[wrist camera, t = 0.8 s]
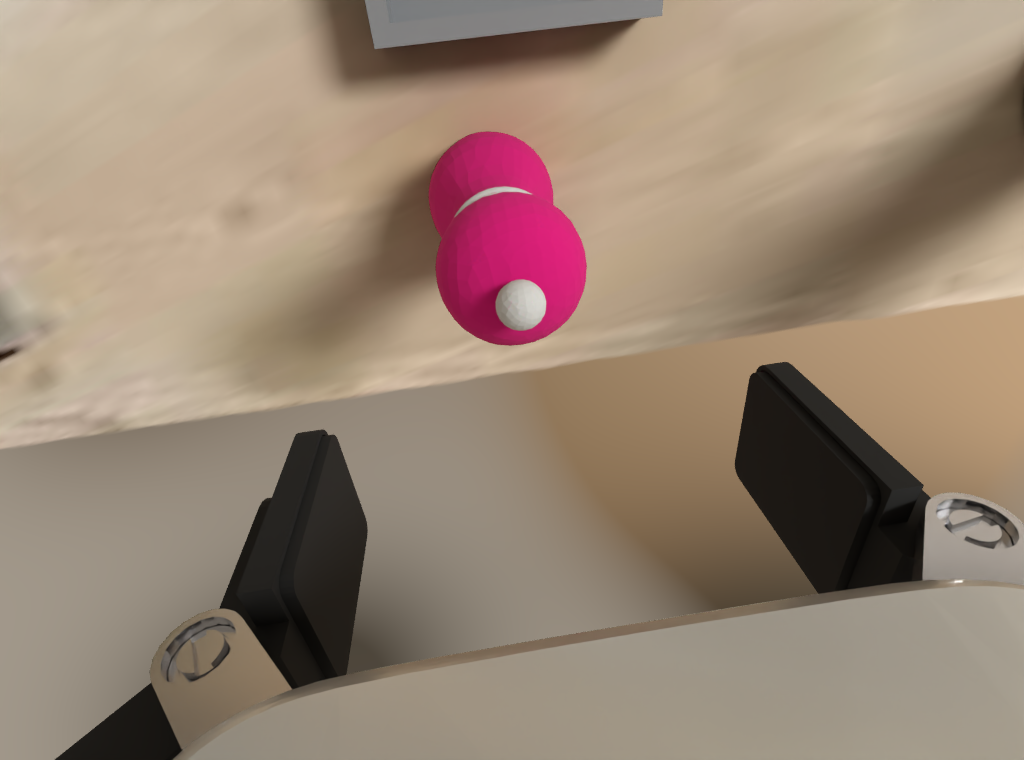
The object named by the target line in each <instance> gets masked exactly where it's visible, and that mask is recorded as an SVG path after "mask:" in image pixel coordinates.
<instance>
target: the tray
mask: <svg viewBox="0 0 1024 760" xmlns="http://www.w3.org/2000/svg"><path fill="white" fill-rule="evenodd" d="M365 4H366V9H367V14H368V19H369V24H370V29H371V33H372V38H373V43H374V48H375V49H382V48H391V47H400V46H408V45H417V44H426V43H434V42H443V41H451V40H460V39H469V38H477V37H486V36H494V35H503V34H512V33H520V32H529V31H537V30H546V29H555V28H563V27H572V26H580V25H589V24H598V23H606V22H615V21H624V20H632V19H641V18H648V17H656V16H662V9H663V0H365Z"/></svg>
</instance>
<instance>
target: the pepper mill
mask: <svg viewBox="0 0 1024 760" xmlns="http://www.w3.org/2000/svg"><path fill="white" fill-rule="evenodd" d="M429 205H430V211H431V215H432V218H433V221H434V224H435V227H436V229H437V231H438V233H439V234H440V236H441V238H442V240H441V242H440V245H439V249H438V253H437V258H436V277H437V284H438V288H439V291H440V295H441V297H442V300H443V302H444V304H445V306H446V308H447V309H448V311H449V312H450V314H451V315H452V317H453V318H454V319H455V320H456V321H457V322H458V324H459V325H460V326H461V327H462V328H463V329H465V330H466V331H468V332H469V333H471V334H472V335H474V336H476V337H477V338H480V339H482V340H484V341H487V342H489V343H493V344H497V345H509V346H511V345H521V344H526V343H531V342H535V341H537V340H539V339H542V338H544V337H546V336H548V335H549V334H551V333H552V332H554V331H555V330H557V329H558V328H559V327H561V326H562V325H563V324H564V323H565V322H566V321H567V320H568V319H569V318H570V316H571V315H572V314H573V312H574V311H575V309H576V307H577V305H578V303H579V301H580V298H581V296H582V293H583V290H584V286H585V282H586V267H587V265H586V257H585V251H584V248H583V244H582V241H581V239H580V237H579V235H578V233H577V231H576V229H575V228H574V226H573V224H572V222H571V221H570V220H569V219H568V218H567V217H566V215H565V214H564V213H563V212H562V211H561V210H559V209H558V208H556V207H555V206H554V205H553V189H552V185H551V180H550V177H549V174H548V172H547V169H546V167H545V165H544V163H543V162H542V160H541V159H540V157H539V156H538V155H537V153H536V152H535V151H534V150H533V149H532V148H531V147H529V146H528V145H527V144H526V143H525V142H523V141H521V140H519V139H518V138H516V137H513V136H510V135H508V134H503V133H499V132H478V133H474V134H471V135H468V136H466V137H464V138H462V139H461V140H459V141H458V142H456V143H455V144H454V145H453V146H451V147H450V148H449V149H448V150H447V151H446V152H445V153H444V154H443V156H442V157H441V158H440V160H439V162H438V163H437V165H436V167H435V169H434V172H433V174H432V176H431V181H430V186H429Z"/></svg>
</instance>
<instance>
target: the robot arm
mask: <svg viewBox="0 0 1024 760" xmlns="http://www.w3.org/2000/svg"><path fill="white" fill-rule="evenodd" d="M735 469H736V473H737V475H738V477H739V479H740V480H741V482H742V483H743V485H744V486H745V488H746V489H747V491H748V492H749V494H750V495H751V496H752V498H753V499H754V501H755V502H756V504H757V505H758V507H759V508H760V509H761V511H762V512H763V514H764V515H765V517H766V518H767V520H768V521H769V523H770V524H771V525H772V527H773V528H774V530H775V531H776V533H777V534H778V536H779V537H780V539H781V540H782V541H783V543H784V544H785V546H786V547H787V549H788V550H789V551H790V553H791V554H792V556H793V557H794V559H795V560H796V562H797V563H798V565H799V566H800V568H801V569H802V570H803V572H804V573H805V575H806V576H807V578H808V579H809V581H810V582H811V584H812V585H813V586H814V588H815V589H816V591H817V592H818V594H814V595H808V596H802V597H796V598H789V599H783V600H777V601H771V602H764V603H758V604H752V605H746V606H739V607H733V608H727V609H721V610H714V611H708V612H702V613H696V614H690V615H684V616H678V617H672V618H666V619H660V620H654V621H648V622H641V623H635V624H629V625H624V626H617V627H612V628H605V629H600V630H593V631H587V632H581V633H576V634H569V635H563V636H557V637H551V638H546V639H540V640H535V641H528V642H522V643H516V644H511V645H505V646H499V647H493V648H487V649H481V650H476V651H470V652H464V653H458V654H453V655H447V656H441V657H435V658H430V659H425V660H419V661H414V662H409V663H403V664H398V665H393V666H387V667H382V668H377V669H372V670H366V671H361V672H356V673H352V674H347V675H346V673H347V667H348V660H349V653H350V647H351V641H352V634H353V627H354V620H355V614H356V607H357V600H358V593H359V587H360V581H361V574H362V567H363V561H364V554H365V547H366V541H367V522H366V518H365V515H364V512H363V510H362V507H361V504H360V501H359V498H358V496H357V493H356V490H355V487H354V484H353V482H352V479H351V476H350V473H349V470H348V468H347V465H346V462H345V459H344V456H343V453H342V451H341V448H340V445H339V442H338V439H337V437H336V436H335V435H328V434H327V432H326V431H325V430H316V431H310V432H302V433H298V434H296V436H295V438H294V440H293V443H292V446H291V448H290V451H289V454H288V456H287V459H286V462H285V464H284V467H283V470H282V472H281V475H280V478H279V480H278V483H277V486H276V488H275V491H274V494H273V497H272V498H267V499H265V500H264V501H263V502H262V503H261V505H260V507H259V509H258V512H257V514H256V517H255V519H254V522H253V524H252V527H251V529H250V532H249V534H248V537H247V540H246V542H245V545H244V547H243V550H242V552H241V555H240V557H239V560H238V562H237V565H236V568H235V570H234V573H233V575H232V578H231V580H230V583H229V585H228V588H227V590H226V593H225V596H224V598H223V601H222V603H221V606H220V608H219V609H213V610H209V611H206V612H203V613H200V614H198V615H196V616H194V617H192V618H191V619H189V620H187V621H185V622H184V623H182V624H181V625H180V626H179V627H177V628H176V629H175V630H174V631H173V632H171V633H170V634H169V636H168V637H167V638H166V639H165V641H163V643H162V644H161V645H160V646H159V648H158V650H157V652H156V654H155V656H154V657H153V660H152V664H151V668H150V678H151V683H150V684H149V685H148V686H146V687H145V688H144V689H143V690H142V691H140V692H139V693H138V694H136V695H135V696H134V697H133V698H131V699H130V700H129V701H128V702H126V703H125V704H124V705H123V706H121V707H120V708H119V709H118V710H116V711H115V712H114V713H113V714H111V715H110V716H109V717H108V718H106V719H105V720H104V721H103V722H101V723H100V724H99V725H98V726H96V727H95V728H94V729H93V730H91V731H90V732H89V733H88V734H86V735H85V736H84V737H83V738H81V739H80V740H79V741H78V742H76V743H75V744H74V745H73V746H71V747H70V748H69V749H68V750H66V751H65V752H64V753H63V754H61V755H60V756H59V757H58V758H56V759H55V760H1024V524H1023V523H1022V522H1021V521H1020V520H1019V519H1018V518H1017V517H1016V516H1014V515H1013V514H1011V513H1010V512H1009V511H1007V510H1006V509H1004V508H1002V507H1001V506H999V505H997V504H995V503H993V502H991V501H988V500H985V499H982V498H979V497H977V496H973V495H968V494H962V493H943V494H939V495H935V496H934V497H932V498H930V497H929V496H928V495H927V494H926V493H925V492H924V491H923V490H922V488H923V484H922V483H921V482H919V481H918V480H917V479H916V478H915V477H914V476H913V475H912V474H911V473H910V472H909V471H907V470H906V469H905V468H904V467H903V466H902V465H901V464H900V463H899V462H897V460H895V459H894V458H893V457H892V456H891V455H890V454H889V453H888V452H887V451H886V450H884V449H883V448H882V447H881V446H880V445H879V444H878V443H877V442H876V441H875V440H874V439H872V438H871V437H870V436H869V435H868V434H867V433H866V432H865V431H863V429H861V428H860V427H859V426H858V425H857V424H856V423H855V422H854V421H853V420H852V419H850V418H849V417H848V416H847V415H846V414H845V413H844V412H843V411H842V410H841V409H840V408H838V407H837V406H836V405H835V404H834V403H833V402H832V401H831V400H829V399H828V398H827V397H826V396H825V395H824V394H823V393H822V392H821V391H820V390H819V389H818V388H816V387H815V386H814V385H813V384H812V383H811V382H810V381H809V380H808V379H806V378H805V377H804V376H803V375H802V374H801V373H800V372H799V371H798V370H797V369H796V368H795V367H793V366H792V365H791V364H789V363H788V362H782V363H775V364H768V365H762V366H760V367H759V368H758V369H757V371H756V373H753V374H752V375H751V376H750V379H749V384H748V390H747V396H746V402H745V407H744V413H743V419H742V424H741V431H740V436H739V441H738V447H737V453H736V459H735Z"/></svg>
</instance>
